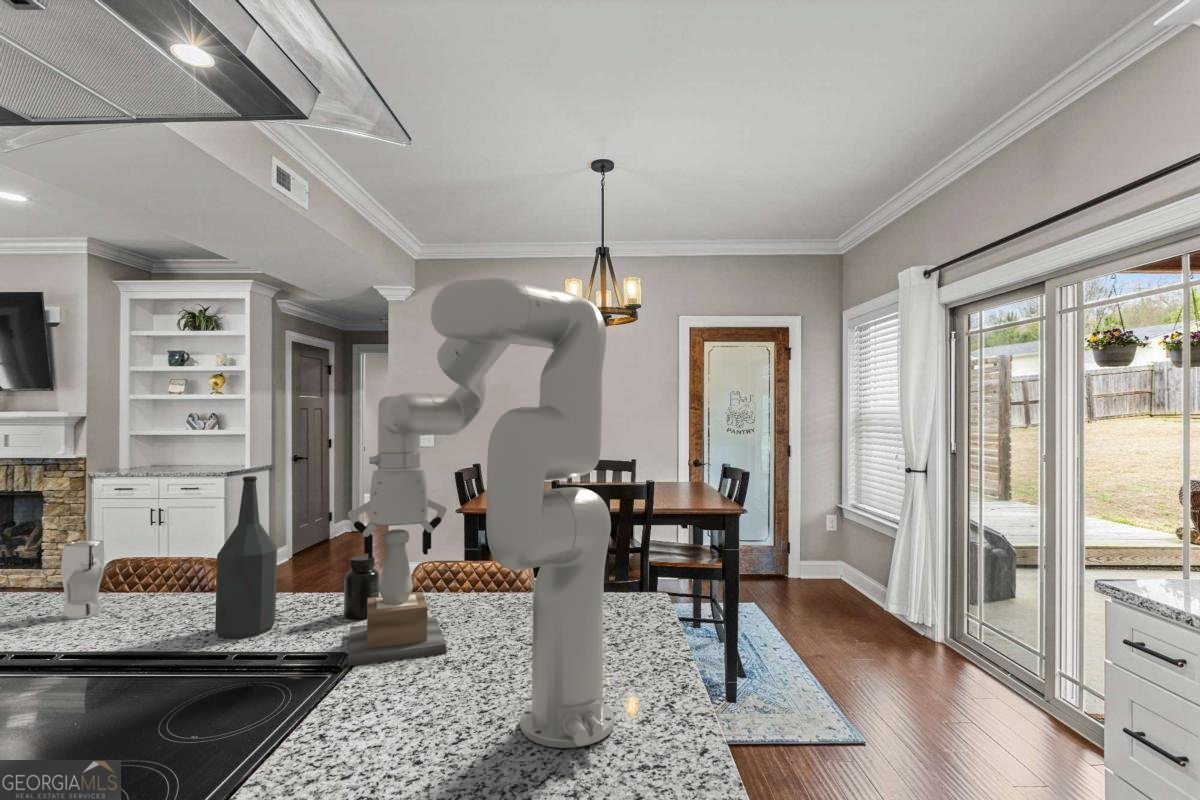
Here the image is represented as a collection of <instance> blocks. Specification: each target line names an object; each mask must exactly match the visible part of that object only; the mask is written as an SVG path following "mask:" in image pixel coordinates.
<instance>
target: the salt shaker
mask: <svg viewBox="0 0 1200 800" xmlns="http://www.w3.org/2000/svg"><path fill="white" fill-rule="evenodd" d="M383 541H384V544H386V545H387V551H386V555H385V559H384V560H385V561H384V564H383V565H384V566H383V571H382V574H381V579H380V583H379V595H381V596H382V598H383V600H384V602H385V604H391V605H396V604H402V603H405V602H406V601H407V600H408V598H409V596H410V594H412V591H413V588H414V585H413V578H412V574H411V568H410V562H409V557H408V550H407V543H409V541H410V533H409V531H408V530H406V529H401V528H400V529H399V528H398V529H390V530H387V531H386V532H385V534H384V540H383ZM381 596H380V597H381Z"/></svg>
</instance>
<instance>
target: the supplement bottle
mask: <svg viewBox="0 0 1200 800" xmlns="http://www.w3.org/2000/svg"><path fill="white" fill-rule="evenodd" d="M375 560H376V559H375V556H373V555H372V558H371V559H368V555H358V556H355V557H350V560H349V569H350V570H349V571H347V573H346V574H345V575H344V589H343V591H344V592H343V594H344V596H343V616H344V617H345V619H346V620H349V621H362V620H367V601H368V598H370V597H380V591H379V589H380V573H379V570H377V569H376V568H374V567H375V566H376V563H375Z"/></svg>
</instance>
